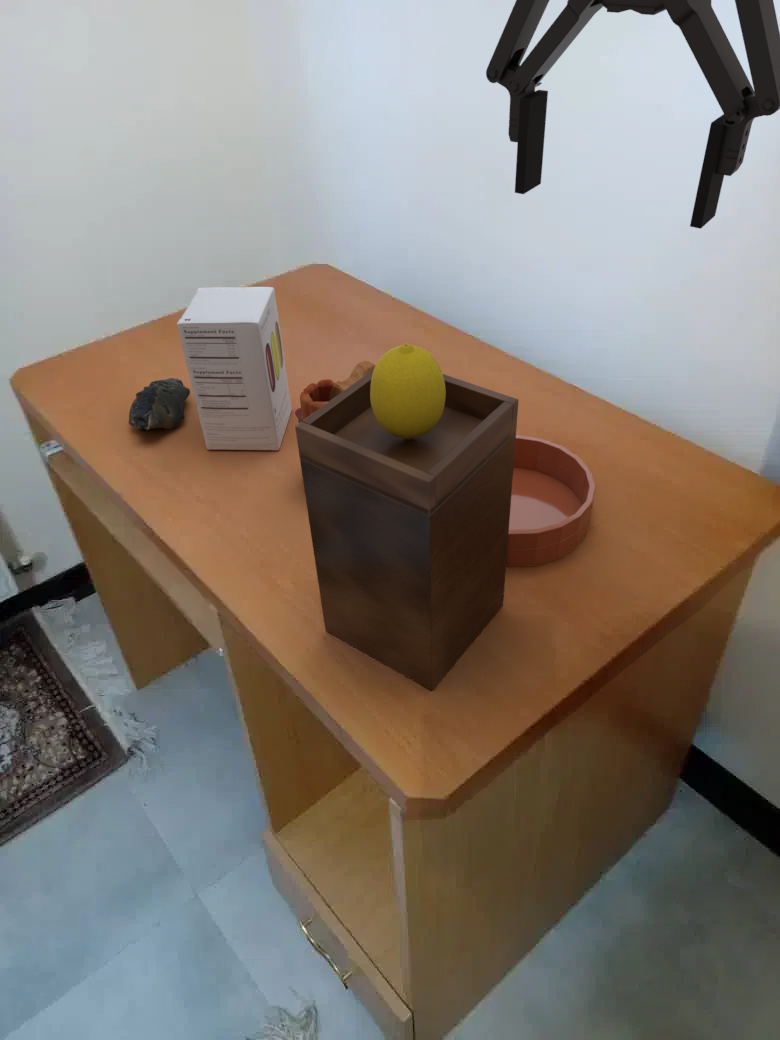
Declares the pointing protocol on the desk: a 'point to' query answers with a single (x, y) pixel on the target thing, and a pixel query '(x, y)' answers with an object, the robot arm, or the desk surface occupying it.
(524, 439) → the bowl
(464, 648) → the stand
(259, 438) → the supplement box
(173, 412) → the stone
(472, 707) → the desk surface
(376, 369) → the lemon
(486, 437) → the tray
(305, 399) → the mug
